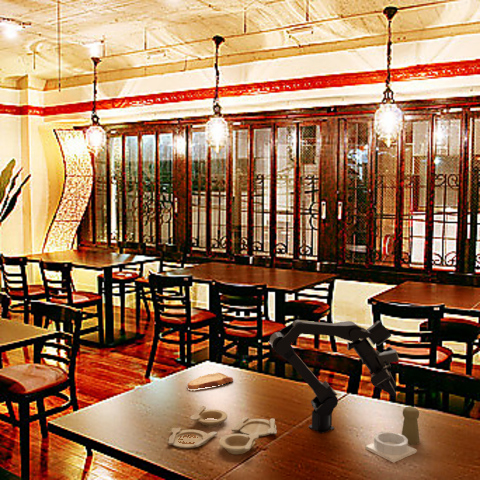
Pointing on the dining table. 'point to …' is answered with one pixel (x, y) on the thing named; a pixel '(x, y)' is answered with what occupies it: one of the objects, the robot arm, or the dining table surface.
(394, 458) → the guard dock
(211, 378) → the bread slice
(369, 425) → the dining table surface
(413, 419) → the cork
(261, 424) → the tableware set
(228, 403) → the dining table surface
